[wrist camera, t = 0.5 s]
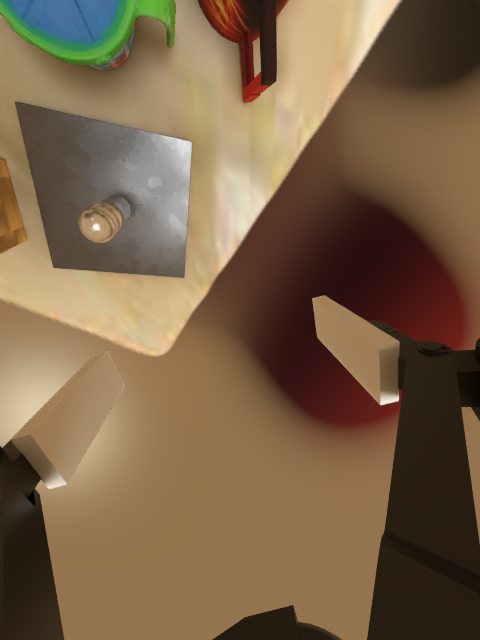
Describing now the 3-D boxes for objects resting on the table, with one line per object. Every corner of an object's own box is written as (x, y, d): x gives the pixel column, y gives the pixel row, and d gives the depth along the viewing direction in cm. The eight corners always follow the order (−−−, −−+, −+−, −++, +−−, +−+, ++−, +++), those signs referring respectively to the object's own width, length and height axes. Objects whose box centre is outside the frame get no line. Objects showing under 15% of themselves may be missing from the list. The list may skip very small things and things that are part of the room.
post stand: (17, 102, 25) (-85, 65, 16) (191, 142, 30) (199, 133, 20) (54, 266, 35) (6, 308, 25) (183, 276, 39) (186, 315, 30)
